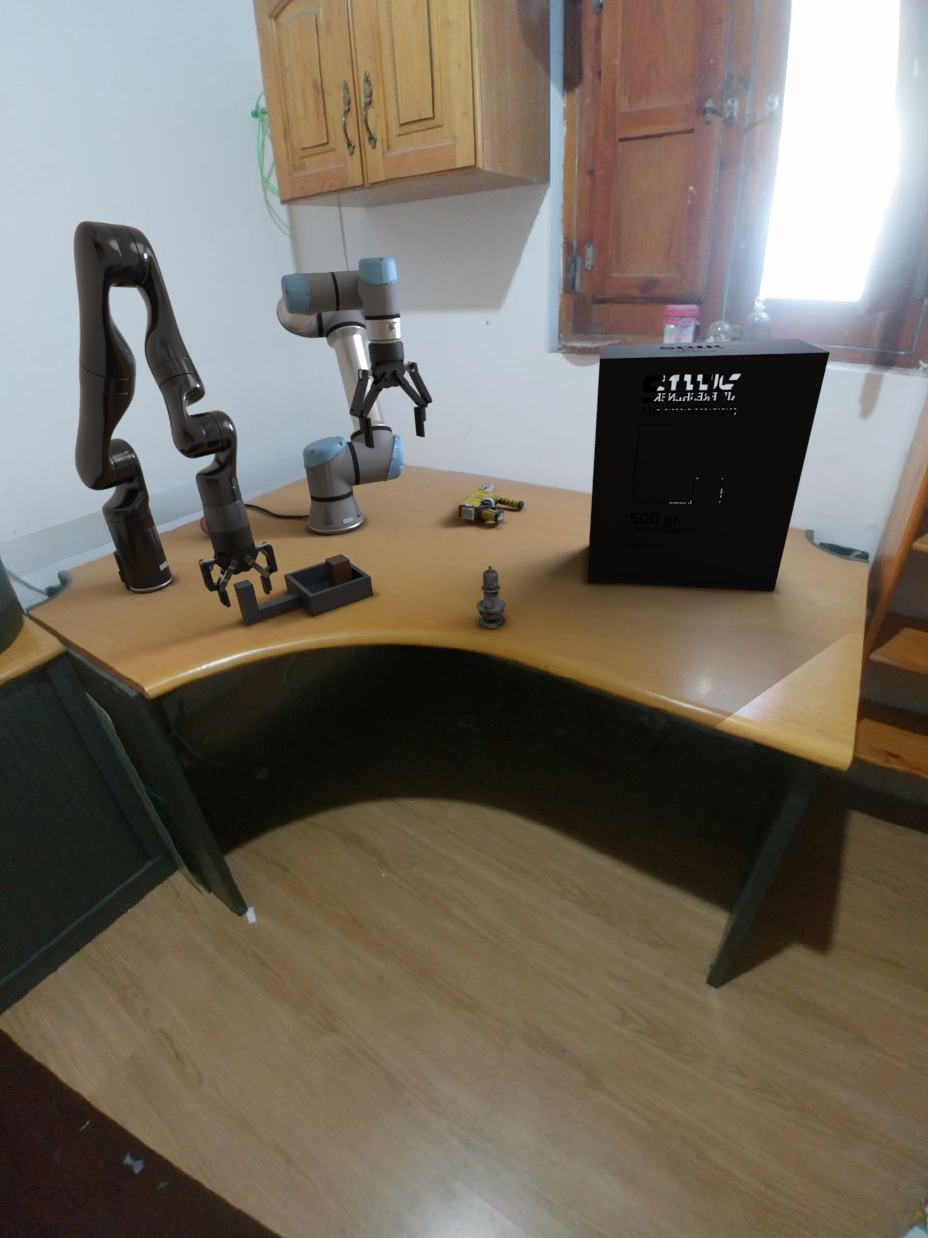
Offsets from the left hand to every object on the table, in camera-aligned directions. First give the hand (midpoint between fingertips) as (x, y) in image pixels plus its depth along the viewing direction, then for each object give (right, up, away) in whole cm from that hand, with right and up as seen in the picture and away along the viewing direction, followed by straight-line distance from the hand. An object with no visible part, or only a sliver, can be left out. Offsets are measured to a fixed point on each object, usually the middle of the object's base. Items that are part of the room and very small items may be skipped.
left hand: (248, 599), depth 122 cm
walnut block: (+16, +3, +12) cm, 21 cm away
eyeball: (-26, +19, +46) cm, 56 cm away
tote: (+9, -1, +8) cm, 12 cm away
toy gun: (+53, +27, +51) cm, 78 cm away
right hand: (+28, +37, +18) cm, 50 cm away
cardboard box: (+91, +8, +14) cm, 92 cm away
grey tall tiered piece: (+49, -5, -3) cm, 49 cm away
